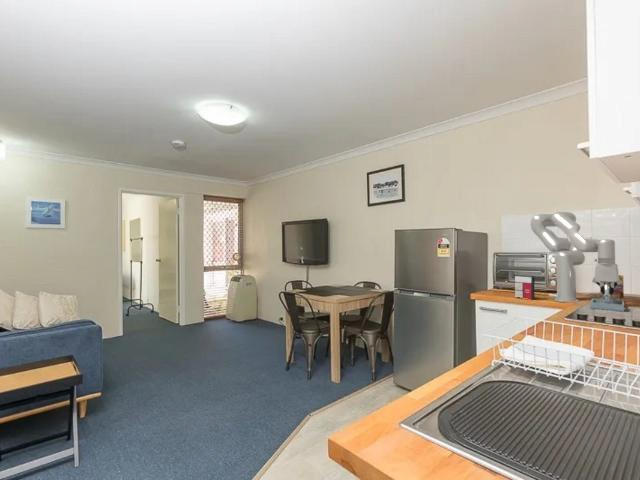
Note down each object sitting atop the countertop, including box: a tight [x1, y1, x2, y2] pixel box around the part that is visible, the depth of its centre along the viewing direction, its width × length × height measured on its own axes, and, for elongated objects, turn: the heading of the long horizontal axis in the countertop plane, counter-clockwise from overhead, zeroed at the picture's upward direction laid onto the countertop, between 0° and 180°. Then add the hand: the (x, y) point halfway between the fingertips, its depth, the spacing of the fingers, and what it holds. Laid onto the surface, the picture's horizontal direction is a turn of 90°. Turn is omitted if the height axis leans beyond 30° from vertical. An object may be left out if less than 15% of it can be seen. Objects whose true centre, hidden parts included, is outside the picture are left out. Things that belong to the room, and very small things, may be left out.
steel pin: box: [603, 282, 611, 304], centre depth 193 cm, size 5×5×13 cm
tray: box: [589, 298, 625, 313], centre depth 193 cm, size 14×18×4 cm
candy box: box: [610, 274, 625, 299], centre depth 224 cm, size 9×4×15 cm, turn 56°
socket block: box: [597, 292, 621, 300], centre depth 208 cm, size 10×10×5 cm
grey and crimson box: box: [513, 274, 536, 300], centre depth 226 cm, size 11×4×15 cm, turn 37°
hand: (607, 294), depth 193 cm, fingers closed on steel pin, 2 cm apart
